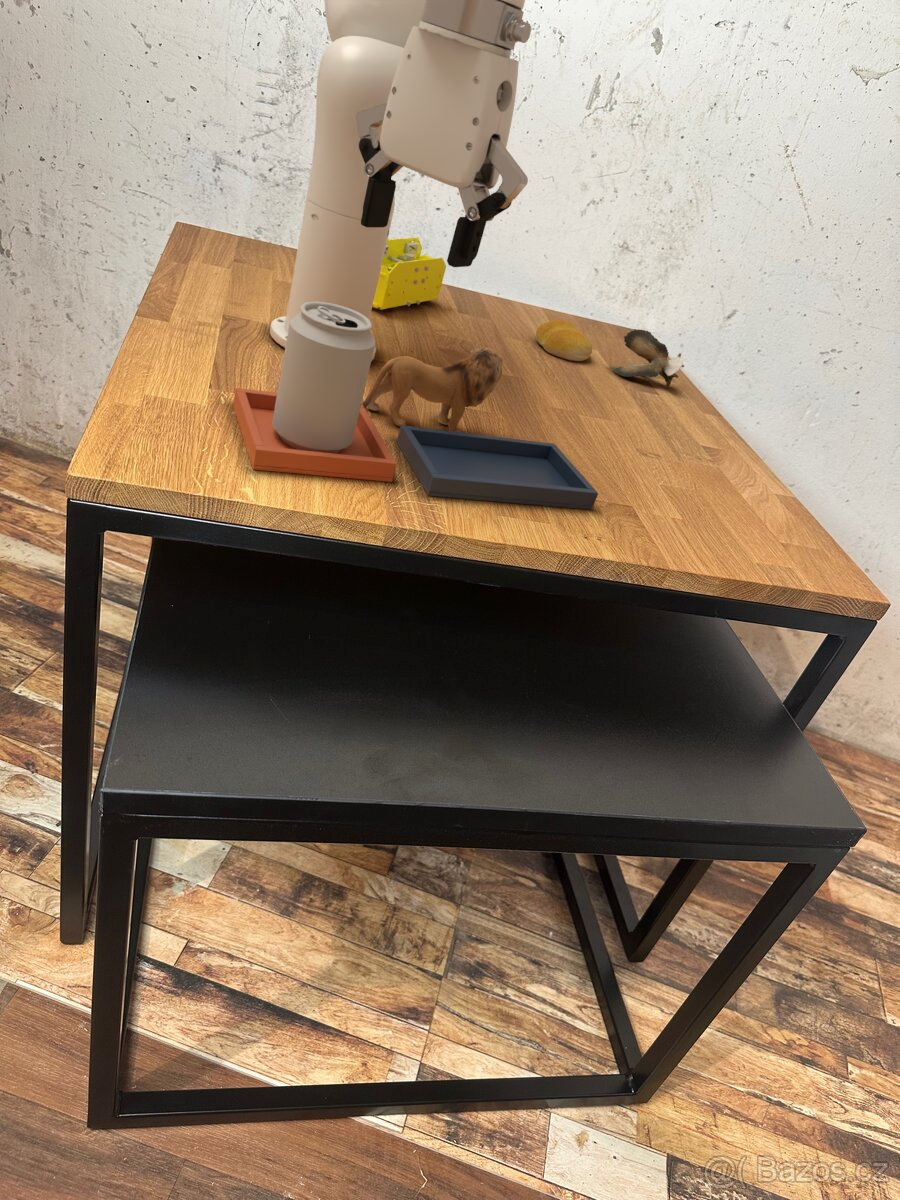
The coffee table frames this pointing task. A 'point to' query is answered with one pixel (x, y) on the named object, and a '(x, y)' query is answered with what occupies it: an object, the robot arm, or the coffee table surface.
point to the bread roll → (564, 340)
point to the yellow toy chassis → (407, 275)
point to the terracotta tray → (274, 454)
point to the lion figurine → (438, 384)
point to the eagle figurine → (650, 357)
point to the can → (323, 377)
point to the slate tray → (494, 469)
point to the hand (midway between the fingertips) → (415, 245)
